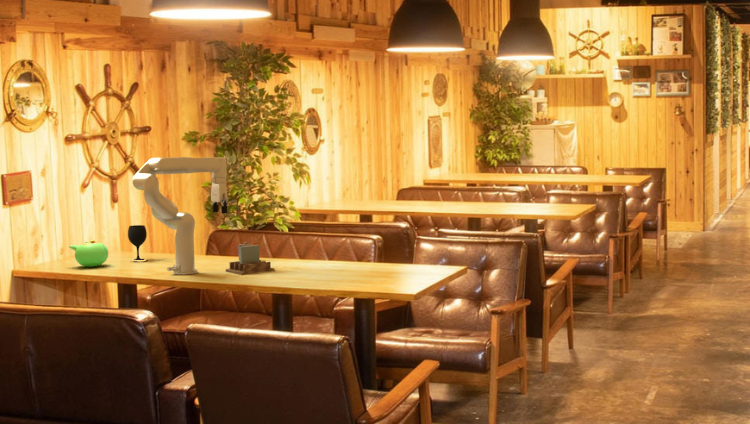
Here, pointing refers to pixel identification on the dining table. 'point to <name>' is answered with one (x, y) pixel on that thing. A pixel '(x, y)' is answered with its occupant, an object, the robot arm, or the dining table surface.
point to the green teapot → (90, 253)
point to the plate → (249, 254)
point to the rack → (249, 267)
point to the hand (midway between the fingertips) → (219, 212)
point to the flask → (244, 245)
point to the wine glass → (137, 237)
